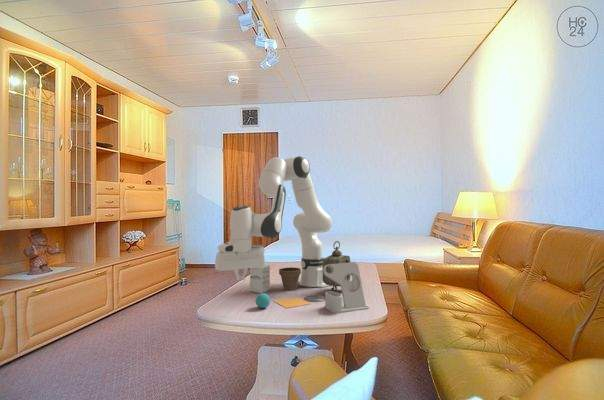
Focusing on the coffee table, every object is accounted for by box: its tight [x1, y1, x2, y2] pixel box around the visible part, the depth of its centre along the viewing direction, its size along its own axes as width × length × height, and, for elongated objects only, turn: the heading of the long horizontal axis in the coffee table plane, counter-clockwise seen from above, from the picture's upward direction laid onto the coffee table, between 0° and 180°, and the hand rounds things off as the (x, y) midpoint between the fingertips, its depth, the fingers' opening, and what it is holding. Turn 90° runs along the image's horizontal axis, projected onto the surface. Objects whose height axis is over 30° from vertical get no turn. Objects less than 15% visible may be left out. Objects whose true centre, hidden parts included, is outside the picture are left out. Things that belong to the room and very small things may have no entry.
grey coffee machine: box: [323, 261, 370, 314], centre depth 139 cm, size 17×10×18 cm, turn 111°
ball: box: [255, 292, 271, 309], centre depth 139 cm, size 6×6×6 cm
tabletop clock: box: [322, 240, 351, 294], centre depth 165 cm, size 14×9×25 cm, turn 148°
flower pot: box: [278, 266, 302, 291], centre depth 171 cm, size 12×11×10 cm
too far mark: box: [303, 294, 325, 303], centre depth 152 cm, size 10×10×1 cm
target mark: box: [273, 296, 311, 309], centre depth 146 cm, size 12×12×1 cm
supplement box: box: [249, 264, 271, 294], centre depth 167 cm, size 7×7×13 cm
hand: (240, 280), depth 134 cm, fingers closed
